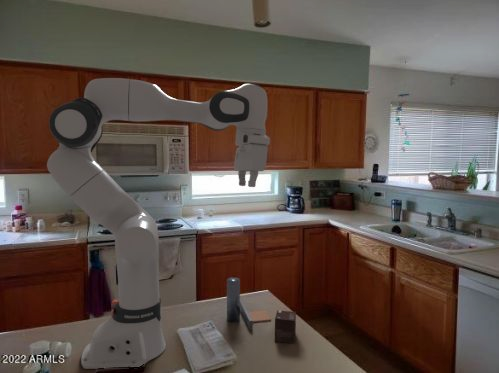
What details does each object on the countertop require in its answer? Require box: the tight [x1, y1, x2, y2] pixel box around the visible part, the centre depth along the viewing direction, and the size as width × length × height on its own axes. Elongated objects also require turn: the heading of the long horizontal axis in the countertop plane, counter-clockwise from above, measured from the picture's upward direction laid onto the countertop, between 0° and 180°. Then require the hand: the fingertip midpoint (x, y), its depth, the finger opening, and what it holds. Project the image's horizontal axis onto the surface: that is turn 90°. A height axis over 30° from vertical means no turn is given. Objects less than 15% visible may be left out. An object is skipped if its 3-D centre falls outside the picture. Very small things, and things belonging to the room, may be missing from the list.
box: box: [274, 310, 297, 344], centre depth 108 cm, size 6×6×7 cm
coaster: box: [248, 309, 272, 323], centre depth 122 cm, size 7×7×1 cm
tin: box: [226, 277, 241, 324], centre depth 119 cm, size 4×4×14 cm
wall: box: [240, 300, 254, 331], centre depth 120 cm, size 1×16×3 cm, turn 13°
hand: (246, 186), depth 105 cm, fingers open, 8 cm apart
